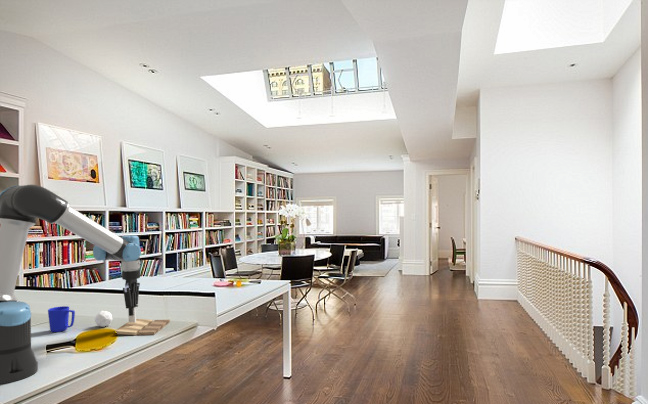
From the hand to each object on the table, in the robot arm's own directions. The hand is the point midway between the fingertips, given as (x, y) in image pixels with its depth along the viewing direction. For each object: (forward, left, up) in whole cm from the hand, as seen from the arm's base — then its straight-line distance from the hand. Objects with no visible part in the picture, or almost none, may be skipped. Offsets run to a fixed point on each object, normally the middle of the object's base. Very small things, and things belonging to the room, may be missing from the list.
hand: (132, 322), depth 193 cm
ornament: (+6, +16, -3) cm, 17 cm away
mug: (+1, +32, -3) cm, 32 cm away
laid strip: (0, -10, -3) cm, 10 cm away
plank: (0, -1, -2) cm, 3 cm away
